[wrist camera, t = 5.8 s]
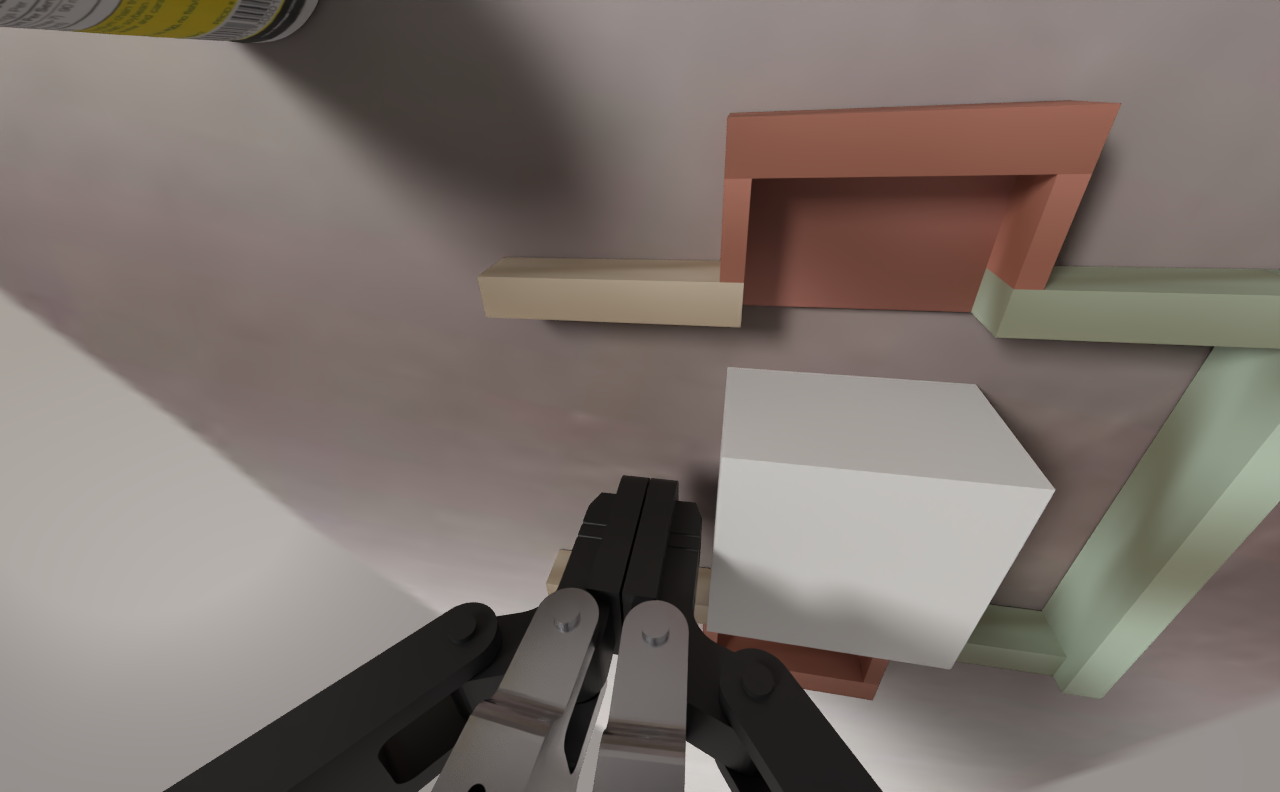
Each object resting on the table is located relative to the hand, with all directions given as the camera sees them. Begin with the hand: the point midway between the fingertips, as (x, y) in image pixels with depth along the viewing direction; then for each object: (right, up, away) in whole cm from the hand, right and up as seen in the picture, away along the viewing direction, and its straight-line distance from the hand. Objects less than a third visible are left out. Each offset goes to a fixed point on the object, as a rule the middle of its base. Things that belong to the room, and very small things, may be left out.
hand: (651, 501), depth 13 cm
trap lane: (+5, +1, +1) cm, 5 cm away
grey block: (+5, +1, +1) cm, 5 cm away
